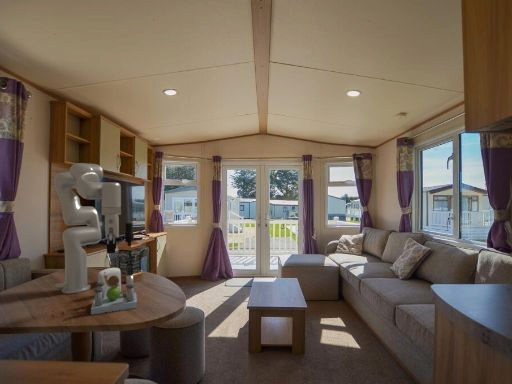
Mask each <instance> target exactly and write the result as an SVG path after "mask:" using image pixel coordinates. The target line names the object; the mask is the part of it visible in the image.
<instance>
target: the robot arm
mask: <svg viewBox="0 0 512 384" xmlns="http://www.w3.org/2000/svg"><path fill="white" fill-rule="evenodd" d="M103 177H104V170H103V167H101V166H100V165H99V164H96V163H87V162H86V163H85V162H79V163H74V164H73V165H71V166H70V168H69V171H66V172H58V173H57V174H56V175H55V177H54V180H53V181H54V182H53V183H54V184H53V185H54V189H55V192H56V194H57V196H58V199H59V200H60V201H59V202H60V207H61V213H62V219H63V222H64V224H65V225H66V226H73V227H68V228H66V229H65V230H64V231H63V232H62V234H61V235H62V236H61V237H62V243H63V248H64V278H65V279H64V282H62V283H55V284H54V287H55V289H60V288H61V293H62V294H65V295H66V294H69V295H70V294H77V293H83V292H86V291H88V290H90V289H91V287H92V286H91V284H88V257H87V252H86V250H85V249H84V248H83V247H82V246H86V245H88V246H89V245H96V244H98V243H99V242H100V241H102V240H101V239H102V229H101V223H100V218H99V217H100V216H99V213H98V210H97V209H96V208H95V207H94V206H91V205H90V206H88V205H87V206H83V205H81V201H80V200H81V199H80V197H79V196H81V198H83V199H85V200H101V216H104V233H105V238H106V240H107V241H106V254H115V253H116V249H117V239H118V238H119V237H120V223H119V222H120V219H119V216H120V215H122V187H121V183H119V182H113V181H112V182H109V181H108V182H107V181H105V182H100V181H101V180H102V179H103ZM73 189H74V190H76V192H77V194H78V195H79V196H78V195H77V194H76V193H75V191H73ZM81 225H82V226H81ZM83 225H84V226H83ZM85 225H86V226H85Z"/></svg>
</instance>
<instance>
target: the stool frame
mask: <svg viewBox="0 0 512 384" xmlns="http://www.w3.org/2000/svg"><path fill="white" fill-rule="evenodd" d="M95 286H96V288H95V289H94V290H93V292H94V298H93V301H92V304H91V306H90V307H91V308H90V315H91V316H92V315H99V314H105V312H107V313H111V312H112V311H113V312H119V310H120V311H127V310H132V309H137V308H138V297H137V296H138V295H137V291H134V290H135V289H134V288H135V284H134V283H133V284H129V285H127V284H126V285H125V288H126V290H125V291H122V293H120V296H119V297H118V298H117V299H116V300H110V299H108V298H107V296H104V282H100V283H98V282H97V283H96V284H95ZM113 312H112V313H113Z"/></svg>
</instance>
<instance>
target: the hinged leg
mask: <svg viewBox="0 0 512 384" xmlns="http://www.w3.org/2000/svg"><path fill="white" fill-rule="evenodd" d="M129 284H134V282H133V275H128V276H127V283H126V285H129Z"/></svg>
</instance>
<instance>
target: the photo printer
mask: <svg viewBox="0 0 512 384" xmlns="http://www.w3.org/2000/svg"><path fill="white" fill-rule="evenodd" d="M104 272H106V273H105V275H108V280H109V278H110V277H111V276H113V275H115V276H117V277H118V278H119V283H118V284H119V286H118V287H117V288H119V289H120V293H122V282H121V271H120V269H119V268H118V267H110V268H105V269H103V270H101V271H99V272H98V273H97V278H98V279H97V283H100V282H104V296H107V291H108V290H109V289H110V288H111V287H109V286H107V284H106V281H105V278H104Z"/></svg>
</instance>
